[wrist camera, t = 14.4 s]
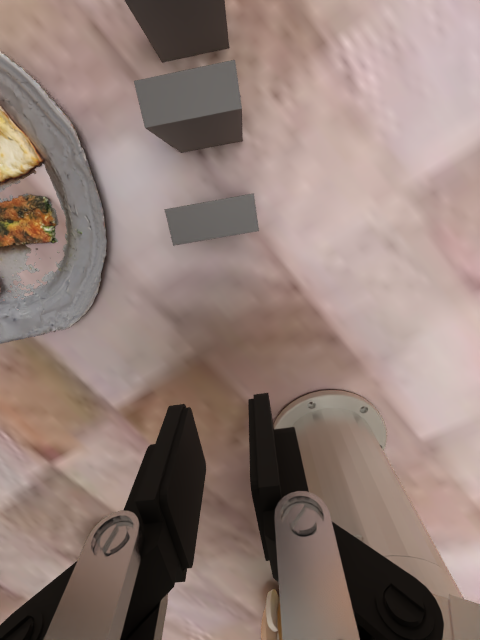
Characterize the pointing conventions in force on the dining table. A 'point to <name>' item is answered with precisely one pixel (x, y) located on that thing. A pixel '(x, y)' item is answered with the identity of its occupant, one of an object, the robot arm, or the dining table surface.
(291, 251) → the dining table surface
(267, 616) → the hamburger
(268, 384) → the dining table surface
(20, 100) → the food plate
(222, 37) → the domino
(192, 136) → the domino
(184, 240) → the domino
